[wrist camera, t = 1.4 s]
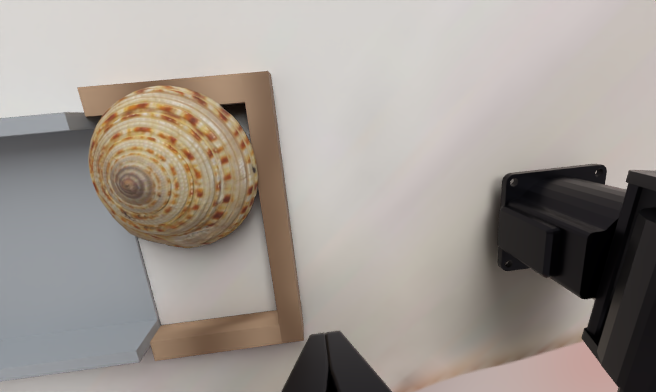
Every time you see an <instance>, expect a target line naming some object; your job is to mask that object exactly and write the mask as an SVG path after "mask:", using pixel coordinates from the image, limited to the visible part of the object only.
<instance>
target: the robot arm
mask: <svg viewBox="0 0 656 392" xmlns="http://www.w3.org/2000/svg"><path fill="white" fill-rule="evenodd" d="M596 170H597V173H596V174H595V172H596ZM606 173H607V170H606V167H605V166H604V165H599V164H588V165H579V166H570V167H561V168H552V169H543V170H534V171H525V172H516V173H509V174H507V175H505V176H504V178H503V180H502V193H501V208H500V210H499V227H498V246H499V247H498V265H499V267H501V268H502V269H503V270H505V271H512V270H519V269H527V268H531V269H533V270H534V271H536V272H537V273H539V274H540V275H542V276H543V277H545V278H549V277H550V278H551V279H553V280H554V281H556V282H557V283H559V284H560V285H562V286H563V287H565V288H566V289H568V290H569V291H571V292H572V293H574V294H575V295H577V296H578V297H580V298H582V299H589V298H592V299H594V300H595V302H594V306H593V309H592V313H591V316H590V320H589V323H588V327H587V328H584V331H583V335H582V339H583V341H584V342H585V343H586V345H587V346H588V347H589V349H590V350H591V351H592V353H593V354H594V355H595V356H596V358H597V359H598V361H599V362H600V363H601V365H602V367H603V368H604V369H605V370H606V372H607V373H608V374H609V376H610V377H611V378H612V379H613V381H614V382H615V383H616V385H617V386H618V387H619V388H618V392H656V171H645V170H629V172H628V176H627V179H626V182H627V183H628V186H627V190H626V189H621V188H617V187H613V186H608V185H605V180H606ZM512 179H514V182H513V183H512V184H511V185H510V181H511V180H512ZM507 261H508V263H507V264H506V265H505V263H506V262H507ZM282 392H392V391H391V390H390V389H389V387H388V386H387V385H386V384H385V383H384V382H383V380H382V379H381V378H380V377H379V376H378V375H377V373H376V372H375V371H374V370H373V369H372V368H371V366H370V365H369V364H368V363H367V362H366V361H365V359H364V358H363V357H362V356H361V355H360V354H359V352H358V351H357V350H356V349H355V348H354V346H353V345H352V344H351V343H350V342H349V341H348V339H347V338H346V337H345V336H344V335H343V334H342V333H341V332H340V331H333V332H327V333H318V334H312V335H310V336H309V338H308V340H307V342H306V344H305V346H304V348H303V350H302V352H301V354H300V356H299V358H298V360H297V362H296V364H295V366H294V368H293V370H292V372H291V374H290V376H289V378H288V380H287V382H286V384H285V386H284V388H283V390H282Z"/></svg>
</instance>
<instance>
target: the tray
mask: <svg viewBox="0 0 656 392" xmlns="http://www.w3.org/2000/svg"><path fill="white" fill-rule="evenodd" d="M101 117H102V116H96V117H86V116H85V113H70V112H64V113H53V114H42V115H31V116H20V117H9V118H0V381H7V380H14V379H22V378H29V377H36V376H43V375H51V374H58V373H65V372H72V371H80V370H87V369H94V368H101V367H109V366H116V365H123V364H130V363H138V362H140V361H141V359H142V358H143V356H144V354H145V353H146V351H147V350H148V348H149V347H150V341H151V340H152V338H153V337H154V335H155V334H156V332H157V331H158V329H159V328H160V326H161V324H160V320H159V317H158V313H157V309H156V306H155V302H154V298H153V294H152V291H151V287H150V283H149V280H148V276H147V272H146V268H145V265H144V261H143V257H142V254H141V250H140V246H139V242H138V239H137V237H136V236H134V235H132V234H130V233H129V232H128V231H127V230H126V229H124V228H123V227H122V226H121V225H120V224H119V223H118V222H117V221H116V220H115V219H114V218H113V217H112V215H111V214H110V213H109V211H108V210H107V209H106V207H105V206H104V205H103V203H102V202H101V200H100V199H99V197H98V196H97V193H96V191H95V188H94V185H93V183H92V180H91V177H90V171H89V163H88V155H89V147H90V141H91V138H92V135H93V132H94V130H95V128H96V125H97V123H98V122H99V120H100V119H101Z"/></svg>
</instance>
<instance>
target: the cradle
mask: <svg viewBox="0 0 656 392" xmlns="http://www.w3.org/2000/svg"><path fill="white" fill-rule="evenodd" d="M153 86H175V87H181V88H187V89H190V90H192V91H195V92H198V93H201V94H203V95H205V96H207V97H209V98H211V99H213V100H214V101H216V102H217V103H219V104H220V105H221V106H223V105H234V104H245V106H246V112H247V119H248V125H249V132H250V138H251V145H252V148H253V151H254V155H255V159H256V164H257V172H258V190H259V197H260V203H261V210H262V216H263V223H264V229H265V236H266V242H267V249H268V255H269V262H270V268H271V275H272V281H273V288H274V294H275V300H276V307H277V310H275V311H267V312H259V313H252V314H244V315H237V316H229V317H221V318H214V319H206V320H199V321H191V322H184V323H176V324H168V325H161V326H160V328H159V329H158V331H157V332H156V334H155V335H154V337H153V338H152V340H151V341H150V345H151V348H152V352H153V355H154V359H155V361H158V360H166V359H173V358H180V357H187V356H195V355H202V354H209V353H216V352H223V351H231V350H238V349H245V348H252V347H260V346H267V345H274V344H281V343H289V342H296V341H303V340H304V327H303V317H302V309H301V302H300V294H299V286H298V279H297V271H296V263H295V256H294V248H293V240H292V233H291V225H290V217H289V210H288V202H287V195H286V187H285V179H284V172H283V164H282V156H281V149H280V141H279V133H278V126H277V118H276V110H275V103H274V95H273V87H272V80H271V74H270V73H269V72H268V71H264V72H252V73H240V74H229V75H217V76H206V77H194V78H182V79H171V80H159V81H148V82H136V83H124V84H113V85H101V86H90V87H78V92H79V95H80V99H81V102H82V106H83V109H84V113H85V116H86V117H96V116H103V114H104V113H105V112H106V111H107V110H108V109H109V108H110V107H111V106H112V105H113V104H115V103H116V102H117V101H118V100H120V99H122V98H123V97H125V96H127V95H128V94H130V93H132V92H135V91H137V90H140V89H144V88H147V87H153Z"/></svg>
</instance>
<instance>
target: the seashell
mask: <svg viewBox="0 0 656 392" xmlns="http://www.w3.org/2000/svg"><path fill="white" fill-rule="evenodd" d="M88 163H89V171H90V177H91V180H92V183H93V185H94V188H95V191H96V193H97V196H98V197H99V199H100V200H101V202H102V203H103V205H104V206H105V207H106V209H107V210H108V211H109V213H110V214H111V215H112V217H113V218H114V219H115V220H116V221H117V222H118V223H119V224H120V225H121V226H122V227H123V228H124V229H126V230H127V231H128V232H129V233H130V234H132V235H134V236H136V237H139V238H142V239H145V240H148V241H152V242H157V243H161V244H167V245H169V246H176V247H183V248H192V247H198V246H202V245H207V244H211V243H214V242H216V241H217V240H219V239H221V238H223V237H225V236H227V235H228V234H230V233H231V232H233V231H234V230H235V229H236V228H237V227H238V226H239V225H240V224H241V223H242V222H243V221H244V219H245V218H246V217H247V215H248V213H249V212H250V210H251V207H252V205H253V203H254V198H255V196H256V193H257V186H258V172H257V164H256V159H255V155H254V151H253V148H252V146H251V143H250V141H249V139H248V137H247V135H246V133H245V132H244V130H243V129H242V127H241V126H240V124H239V123H238V122H237V120H236V119H235V118H234V117H233V116H232V115H231V114H230V113H229V112H227V111H226V110H225V109H224V108H223V107H222V106H221V105H220V104H219V103H217V102H216V101H214V100H213V99H211V98H209V97H207V96H205V95H203V94H201V93H198V92H195V91H192V90H190V89H187V88H181V87H175V86H153V87H147V88H144V89H140V90H137V91H135V92H132V93H130V94H128V95H127V96H125V97H123V98H122V99H120V100H118V101H117V102H116V103H115V104H113V105H112V106H111V107H110V108H109V109H108V110H107V111H106V112H105V113H104V114H103V116H102V117H101V119H100V120H99V122H98V123H97V125H96V128H95V130H94V132H93V135H92V138H91V141H90V147H89V155H88Z"/></svg>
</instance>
